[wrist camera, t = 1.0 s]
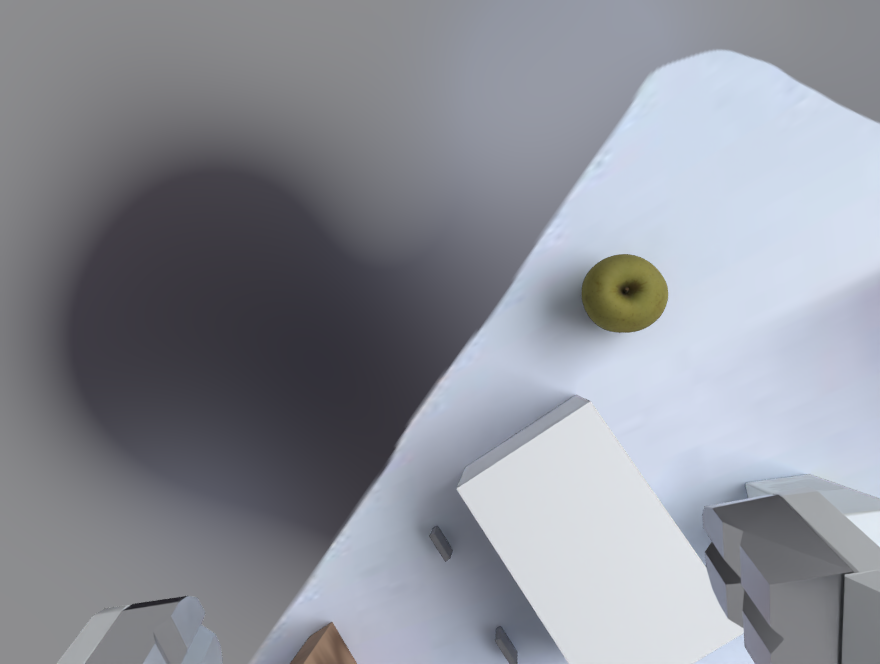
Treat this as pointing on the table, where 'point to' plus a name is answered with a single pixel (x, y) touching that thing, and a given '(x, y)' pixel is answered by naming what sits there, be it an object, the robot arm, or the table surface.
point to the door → (324, 648)
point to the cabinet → (592, 546)
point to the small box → (829, 499)
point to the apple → (624, 293)
